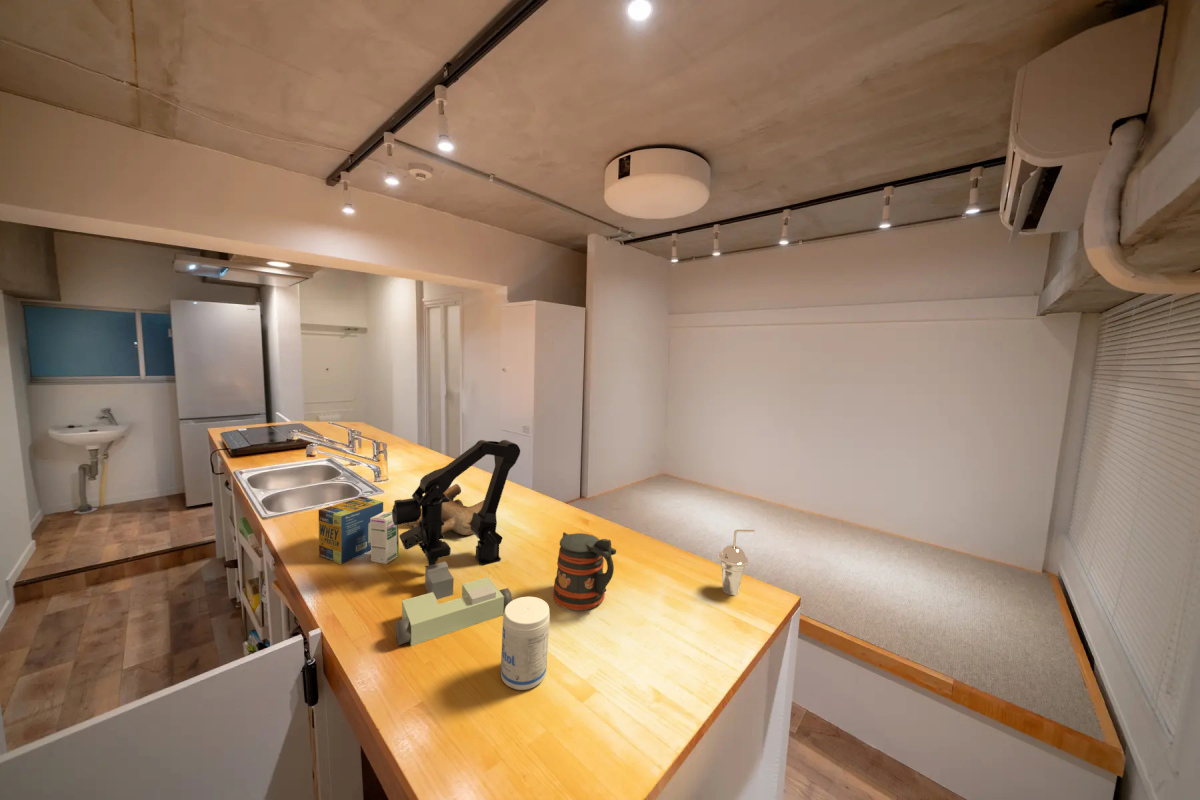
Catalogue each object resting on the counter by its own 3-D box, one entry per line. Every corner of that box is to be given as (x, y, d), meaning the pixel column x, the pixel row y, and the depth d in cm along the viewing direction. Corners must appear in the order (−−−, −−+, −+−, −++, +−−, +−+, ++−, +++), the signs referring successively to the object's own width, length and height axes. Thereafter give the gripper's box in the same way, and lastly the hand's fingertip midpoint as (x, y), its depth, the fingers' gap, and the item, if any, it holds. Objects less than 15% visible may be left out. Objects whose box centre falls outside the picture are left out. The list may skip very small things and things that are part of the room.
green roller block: (496, 591, 115) (496, 569, 115) (512, 611, 106) (512, 588, 106) (391, 622, 100) (391, 597, 99) (399, 649, 91) (399, 622, 90)
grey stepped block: (445, 581, 119) (445, 561, 118) (453, 595, 113) (453, 573, 112) (425, 587, 116) (425, 566, 115) (432, 601, 109) (432, 579, 109)
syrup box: (386, 564, 127) (386, 519, 125) (370, 561, 128) (369, 517, 126) (399, 556, 132) (399, 512, 131) (383, 553, 133) (383, 510, 132)
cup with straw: (724, 580, 128) (729, 518, 126) (752, 592, 122) (758, 528, 120) (710, 589, 122) (715, 525, 120) (738, 603, 116) (744, 536, 114)
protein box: (318, 557, 129) (317, 509, 127) (362, 538, 143) (362, 495, 142) (340, 564, 125) (340, 516, 124) (384, 544, 139) (384, 500, 138)
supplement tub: (491, 674, 85) (493, 608, 84) (526, 651, 93) (529, 590, 91) (520, 701, 79) (523, 630, 78) (556, 674, 86) (559, 608, 85)
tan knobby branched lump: (452, 476, 172) (393, 497, 153) (500, 500, 154) (440, 528, 135) (454, 504, 175) (396, 528, 156) (500, 531, 157) (442, 562, 138)
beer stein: (627, 601, 114) (632, 532, 112) (595, 626, 102) (600, 550, 100) (576, 576, 125) (579, 514, 123) (542, 597, 114) (545, 528, 112)
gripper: (396, 512, 123) (396, 561, 125) (408, 535, 108) (408, 590, 110) (434, 505, 130) (434, 552, 131) (451, 527, 115) (450, 579, 116)
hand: (431, 567), depth 122 cm, fingers closed
